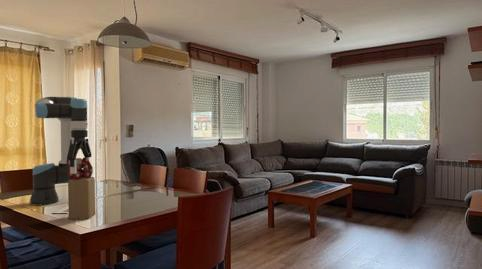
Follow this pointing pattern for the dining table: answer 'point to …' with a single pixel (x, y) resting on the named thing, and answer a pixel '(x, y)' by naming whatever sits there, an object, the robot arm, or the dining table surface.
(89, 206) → the wooden block
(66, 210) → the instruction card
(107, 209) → the dining table surface
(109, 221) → the dining table surface
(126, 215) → the dining table surface
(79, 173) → the red patterned box
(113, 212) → the dining table surface
